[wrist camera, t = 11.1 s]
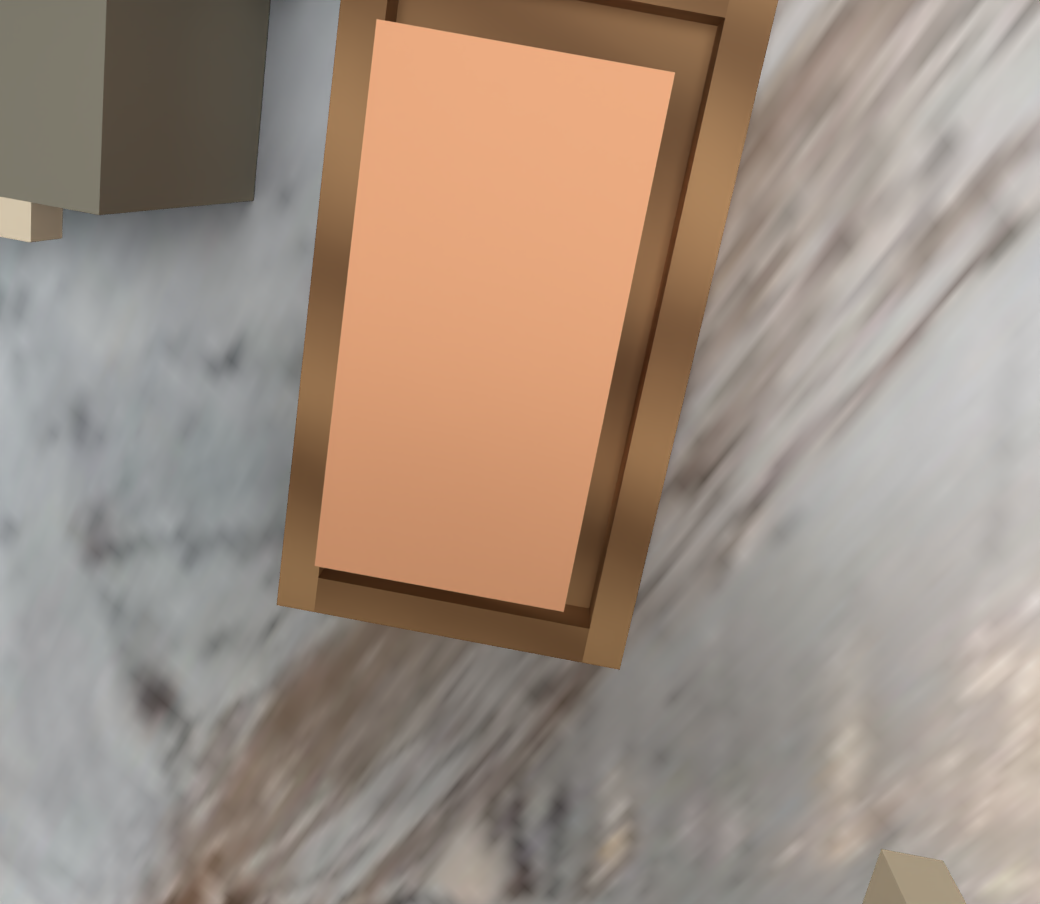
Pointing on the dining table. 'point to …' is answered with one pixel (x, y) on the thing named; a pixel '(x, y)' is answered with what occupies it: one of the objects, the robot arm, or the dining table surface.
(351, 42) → the tray
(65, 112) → the dispenser
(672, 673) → the dining table surface
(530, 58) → the peach rectangular brick
